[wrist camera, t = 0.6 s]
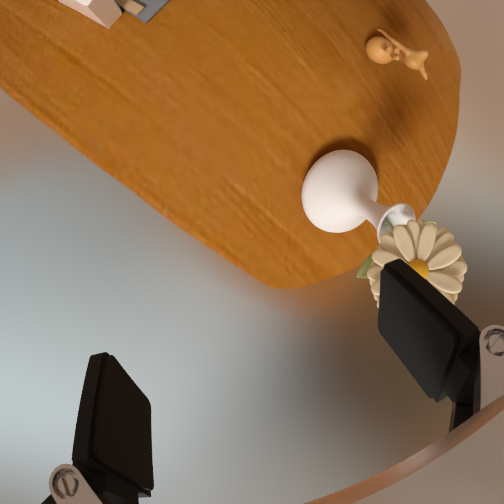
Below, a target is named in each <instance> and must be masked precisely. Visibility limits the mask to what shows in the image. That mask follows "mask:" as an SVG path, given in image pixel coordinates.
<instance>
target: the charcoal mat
mask: <svg viewBox="0 0 504 504" xmlns="http://www.w3.org/2000/svg"><path fill="white" fill-rule="evenodd" d="M115 1H116V2H117V4H118V5H119V7H120V8H122V9H123V10H125V11H127V12H129V13H130V14H132V15H134V16H135V17H137V18H139V19H140V20H142V21H144V22H145V23H147V22H148V21H149V20H150V19H151V18H152V17H153V16H154V15H155V14H156V13H157V12H158V11H159V10H160V9H161V8H162V7H163V6H164V5H165V4H167V3H168V2H169V1H170V0H115Z"/></svg>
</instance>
